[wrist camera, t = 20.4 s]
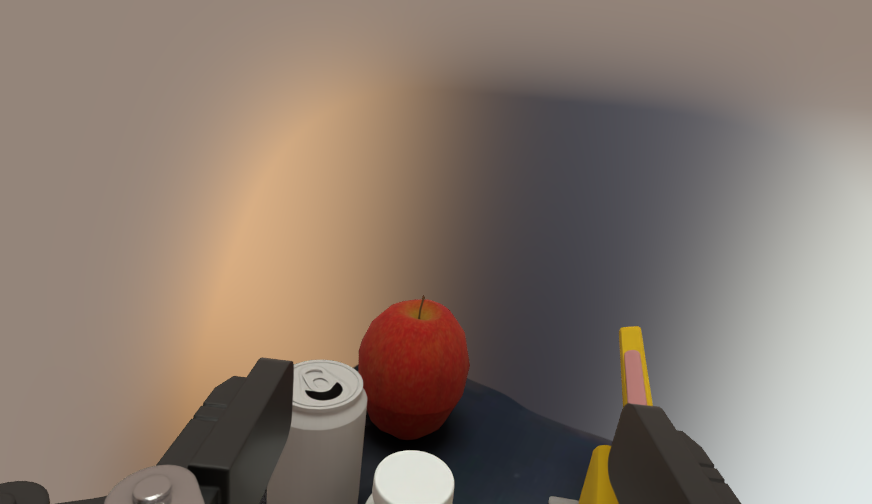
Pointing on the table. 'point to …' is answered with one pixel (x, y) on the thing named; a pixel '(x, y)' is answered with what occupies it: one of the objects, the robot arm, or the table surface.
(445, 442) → the table surface
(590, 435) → the table surface
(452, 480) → the pill bottle
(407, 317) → the apple
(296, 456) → the beverage can
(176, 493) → the robot arm
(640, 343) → the yellow framed monitor
